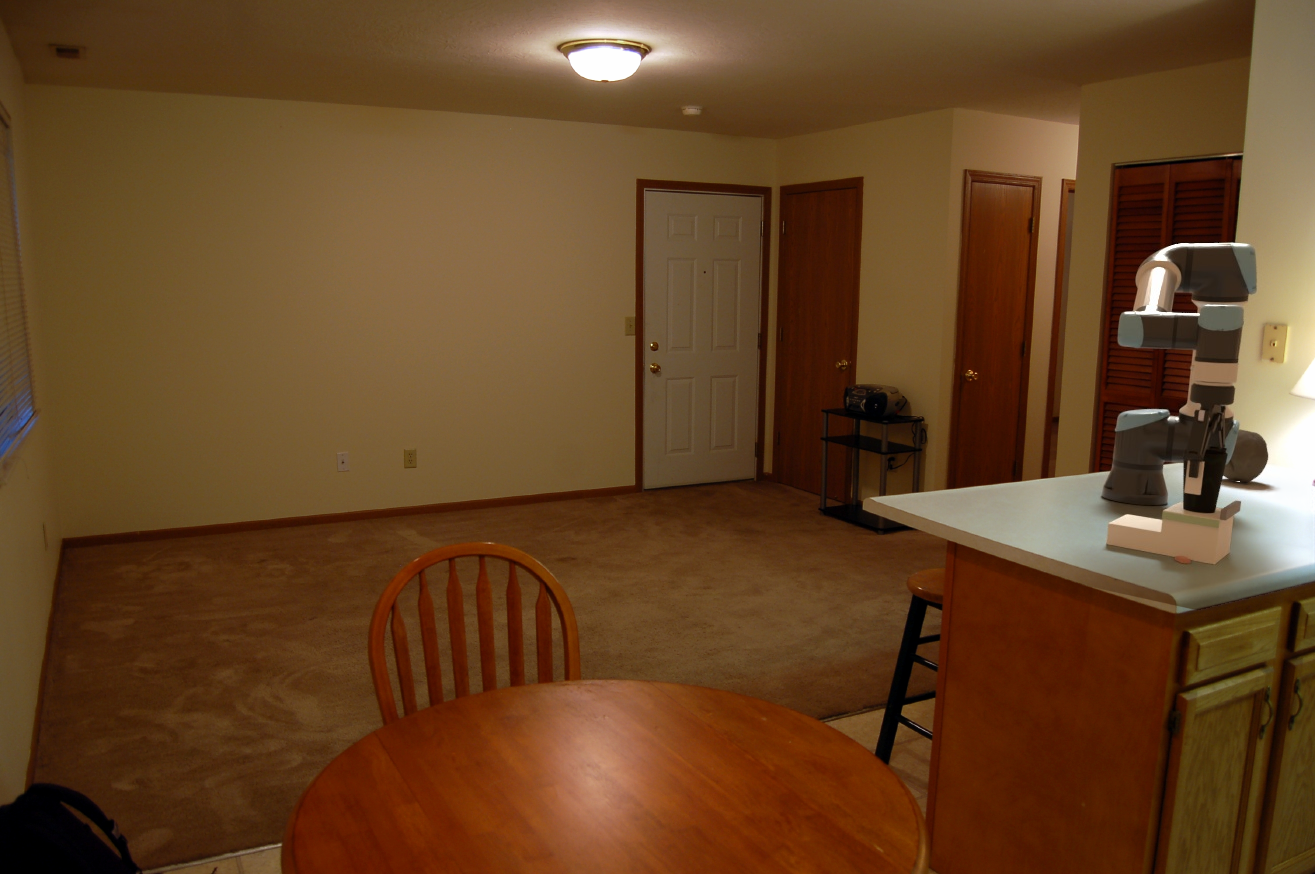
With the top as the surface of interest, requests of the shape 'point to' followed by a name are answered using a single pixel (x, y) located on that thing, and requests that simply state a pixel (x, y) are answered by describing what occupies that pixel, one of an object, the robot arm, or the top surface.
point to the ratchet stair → (1178, 533)
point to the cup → (1206, 483)
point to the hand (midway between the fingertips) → (1201, 488)
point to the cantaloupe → (1247, 457)
